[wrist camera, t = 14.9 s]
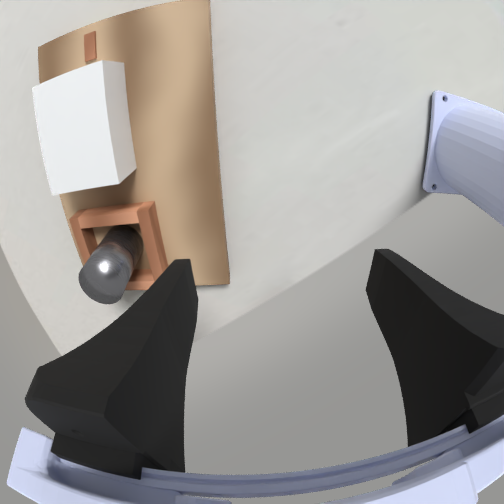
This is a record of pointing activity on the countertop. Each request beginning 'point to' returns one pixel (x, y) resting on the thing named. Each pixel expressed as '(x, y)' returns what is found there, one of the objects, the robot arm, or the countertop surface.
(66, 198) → the board
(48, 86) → the plain white cuboid
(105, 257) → the grey metal cylinder
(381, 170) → the countertop surface
